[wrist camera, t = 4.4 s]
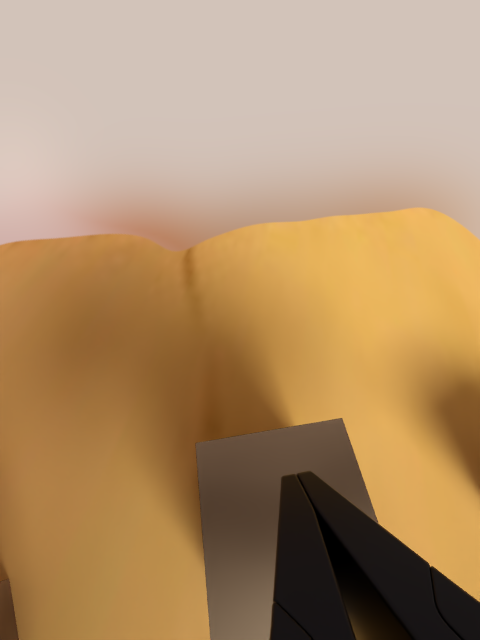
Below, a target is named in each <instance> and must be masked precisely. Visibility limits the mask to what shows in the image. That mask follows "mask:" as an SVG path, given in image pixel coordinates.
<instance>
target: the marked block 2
mask: <svg viewBox="0 0 480 640" xmlns="http://www.w3.org/2000/svg"><path fill="white" fill-rule="evenodd" d="M0 640H19V638H18V632H17V625H16V619H15V613H14V606H13V600H12V594H11V587H10V581H9V579H7V580H3V581H0Z"/></svg>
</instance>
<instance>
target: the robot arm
mask: <svg viewBox="0 0 480 640" xmlns="http://www.w3.org/2000/svg"><path fill="white" fill-rule="evenodd" d="M269 640H480V602H479V601H477V600H476V599H475V598H473V597H472V596H471V595H469V594H468V593H467V592H465V591H464V590H463V589H461V588H460V587H459V586H457V585H456V584H455V583H453V582H452V581H451V580H450V579H448V578H447V577H446V576H444V575H443V574H442V573H441V572H439V571H438V570H437V569H436V568H434V567H433V566H431V567H430V565H429V563H428V562H426V561H425V560H424V559H423V558H421V557H420V556H419V555H418V554H416V553H415V552H414V551H412V550H411V549H410V548H409V547H407V546H406V545H405V544H404V543H402V542H401V541H400V540H398V539H397V538H396V537H395V536H393V535H392V534H391V533H390V532H388V531H387V530H386V529H384V528H383V527H382V526H381V525H379V524H378V523H377V522H376V521H374V520H373V519H372V518H370V517H369V516H368V515H367V514H365V513H364V512H363V511H362V510H360V509H359V508H358V507H356V506H355V505H354V504H353V503H351V502H350V501H349V500H348V499H346V498H345V497H344V496H342V495H341V494H340V493H339V492H337V491H336V490H335V489H334V488H332V487H331V486H330V485H328V484H327V483H326V482H325V481H323V480H322V479H321V478H320V477H318V476H317V475H316V474H314V473H313V472H312V471H305V472H299V473H297V475H296V474H289V475H283V476H282V477H281V489H280V503H279V518H278V532H277V546H276V560H275V575H274V589H273V604H272V614H271V628H270V638H269Z"/></svg>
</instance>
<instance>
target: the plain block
mask: <svg viewBox="0 0 480 640" xmlns="http://www.w3.org/2000/svg"><path fill="white" fill-rule="evenodd" d="M196 456H197V469H198V482H199V495H200V508H201V521H202V535H203V548H204V561H205V574H206V587H207V600H208V613H209V626H210V639H211V640H269V638H270V628H271V614H272V604H273V589H274V575H275V560H276V546H277V532H278V518H279V503H280V489H281V477H282V476H283V475H289V474H296V475H297V473H299V472H305V471H312V472H313V473H314V474H316V475H317V476H318V477H320V478H321V479H322V480H323V481H325V482H326V483H327V484H328V485H330V486H331V487H332V488H334V489H335V490H336V491H337V492H339V493H340V494H341V495H342V496H344V497H345V498H346V499H348V500H349V501H350V502H351V503H353V504H354V505H355V506H356V507H358V508H359V509H360V510H362V511H363V512H364V513H365V514H367V515H368V516H369V517H370V518H372V519H373V520H374V521H376V522H377V523H378V521H377V518H376V515H375V512H374V509H373V506H372V503H371V500H370V498H369V495H368V492H367V489H366V486H365V483H364V480H363V477H362V474H361V471H360V469H359V466H358V463H357V460H356V457H355V454H354V451H353V448H352V445H351V442H350V440H349V437H348V434H347V431H346V428H345V425H344V422H343V419H342V418H340V419H334V420H328V421H322V422H316V423H310V424H304V425H299V426H293V427H287V428H281V429H275V430H269V431H263V432H258V433H252V434H246V435H240V436H234V437H228V438H222V439H217V440H211V441H205V442H199V443H196Z"/></svg>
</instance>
